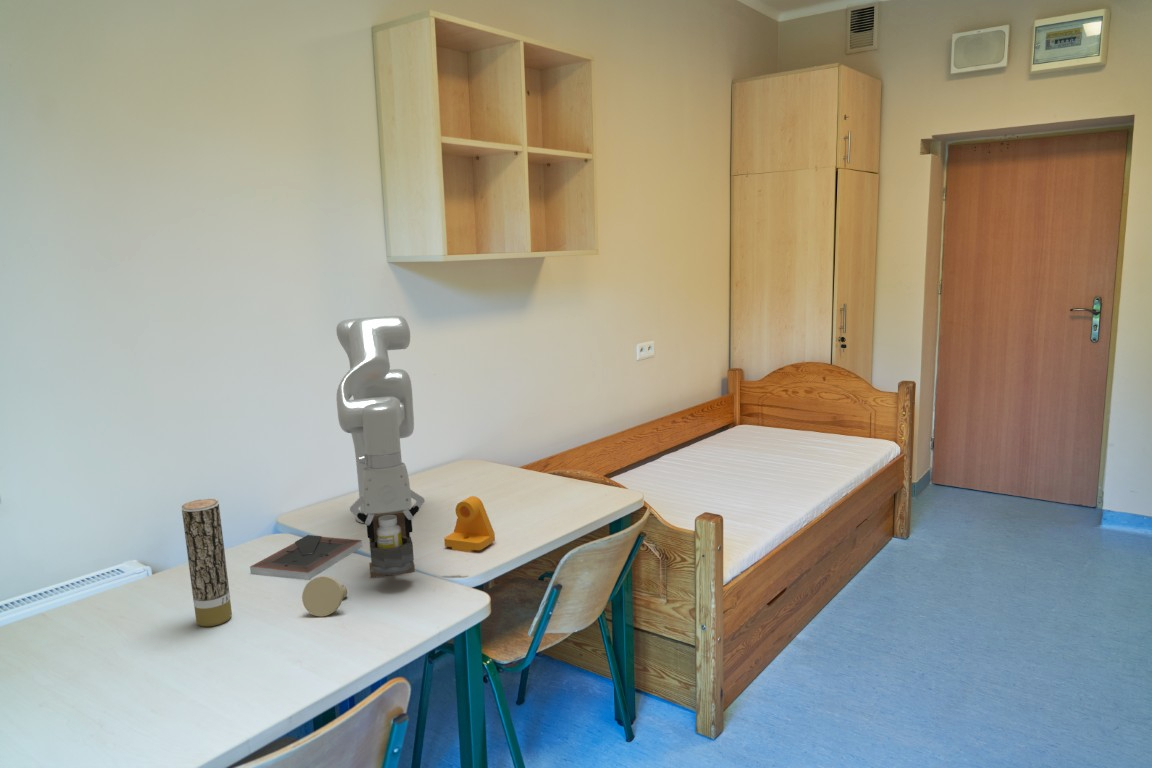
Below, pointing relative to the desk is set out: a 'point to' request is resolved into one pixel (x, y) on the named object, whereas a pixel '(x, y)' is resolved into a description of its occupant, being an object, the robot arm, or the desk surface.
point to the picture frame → (306, 557)
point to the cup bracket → (391, 552)
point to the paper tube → (207, 562)
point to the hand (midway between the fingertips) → (390, 537)
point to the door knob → (323, 596)
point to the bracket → (470, 527)
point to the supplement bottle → (388, 532)
